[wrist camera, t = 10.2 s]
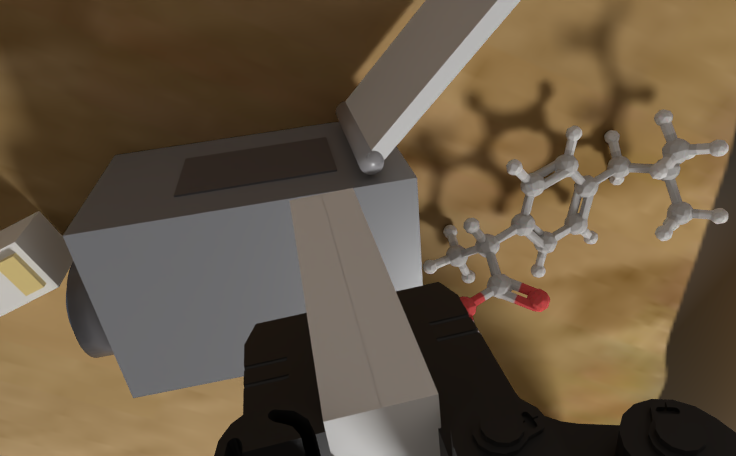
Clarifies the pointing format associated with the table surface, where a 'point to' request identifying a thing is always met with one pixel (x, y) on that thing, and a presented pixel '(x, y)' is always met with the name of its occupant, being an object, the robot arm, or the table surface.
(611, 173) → the molecular model
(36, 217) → the block
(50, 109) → the table surface
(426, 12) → the side door
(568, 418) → the table surface
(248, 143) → the grey box
